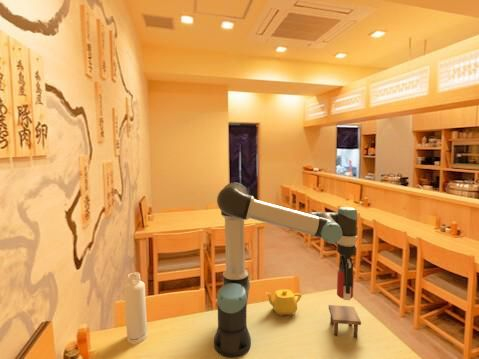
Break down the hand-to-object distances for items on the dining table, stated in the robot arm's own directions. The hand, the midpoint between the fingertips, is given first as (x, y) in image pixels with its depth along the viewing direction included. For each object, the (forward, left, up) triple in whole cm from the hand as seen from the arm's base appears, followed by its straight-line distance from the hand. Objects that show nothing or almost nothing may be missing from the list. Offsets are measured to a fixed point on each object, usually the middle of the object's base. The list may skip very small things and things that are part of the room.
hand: (344, 295), depth 120 cm
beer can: (0, 0, -1) cm, 1 cm away
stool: (0, 0, -16) cm, 16 cm away
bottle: (-88, -16, -16) cm, 91 cm away
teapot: (-26, +11, -17) cm, 33 cm away
